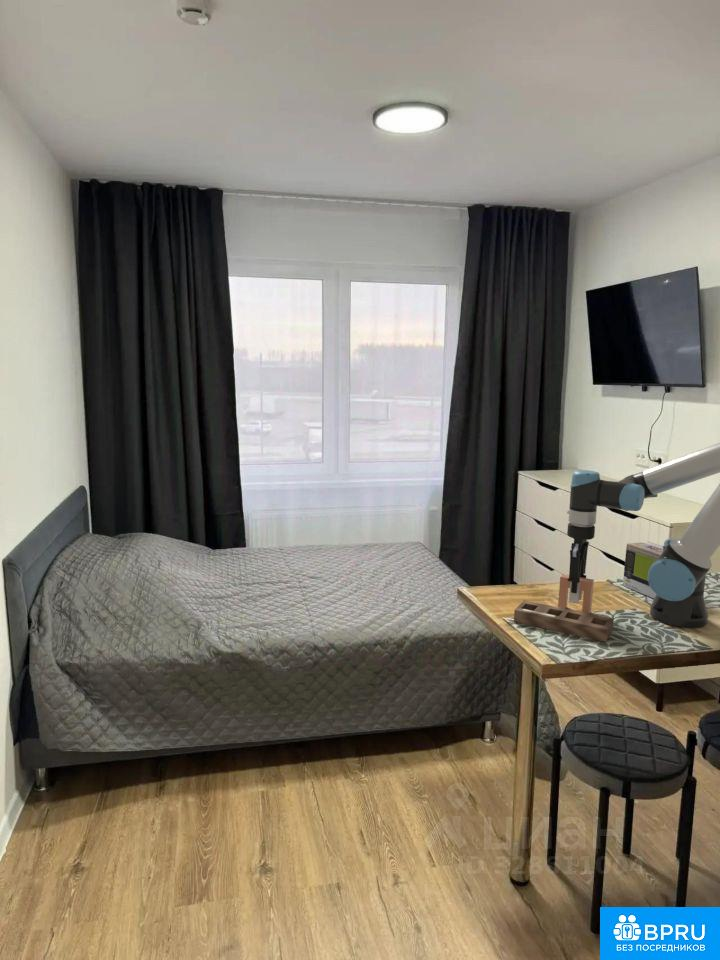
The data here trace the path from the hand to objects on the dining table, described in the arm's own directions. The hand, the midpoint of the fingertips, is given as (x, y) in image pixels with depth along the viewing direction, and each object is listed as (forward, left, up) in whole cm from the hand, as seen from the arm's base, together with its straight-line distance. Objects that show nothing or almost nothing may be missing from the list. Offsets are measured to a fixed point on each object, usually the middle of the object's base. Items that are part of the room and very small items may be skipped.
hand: (575, 600), depth 196 cm
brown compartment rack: (0, +14, -3) cm, 14 cm away
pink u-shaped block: (0, 0, -3) cm, 3 cm away
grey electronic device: (-17, -31, -3) cm, 36 cm away
